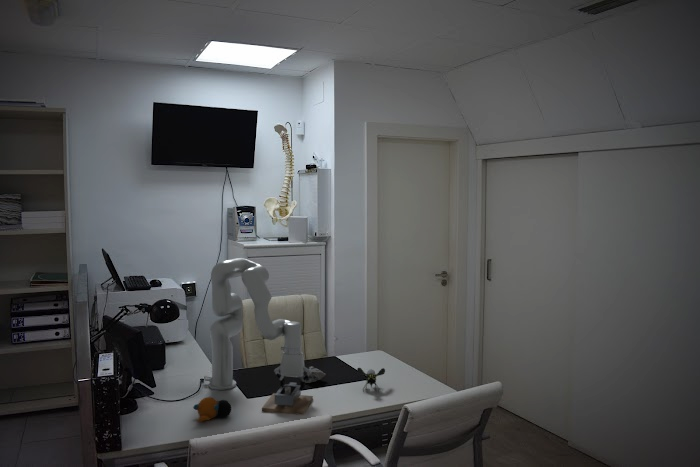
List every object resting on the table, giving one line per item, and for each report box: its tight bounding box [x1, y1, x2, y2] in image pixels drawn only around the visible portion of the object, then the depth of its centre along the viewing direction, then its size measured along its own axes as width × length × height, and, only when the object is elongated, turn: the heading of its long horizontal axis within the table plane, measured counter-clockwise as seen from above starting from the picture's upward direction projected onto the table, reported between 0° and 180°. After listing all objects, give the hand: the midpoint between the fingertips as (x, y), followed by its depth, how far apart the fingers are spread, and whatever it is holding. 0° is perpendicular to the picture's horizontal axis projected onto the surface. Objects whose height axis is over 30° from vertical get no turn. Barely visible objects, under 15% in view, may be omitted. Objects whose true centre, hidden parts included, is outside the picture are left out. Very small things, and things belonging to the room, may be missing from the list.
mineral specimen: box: [305, 366, 327, 384], centre depth 273 cm, size 10×8×10 cm
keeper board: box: [261, 386, 314, 415], centre depth 244 cm, size 18×17×8 cm
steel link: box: [275, 381, 302, 406], centre depth 245 cm, size 16×8×4 cm, turn 171°
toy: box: [193, 396, 232, 423], centre depth 229 cm, size 12×10×15 cm
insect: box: [356, 367, 386, 393], centre depth 263 cm, size 13×16×10 cm
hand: (292, 388), depth 251 cm, fingers closed on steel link, 8 cm apart
